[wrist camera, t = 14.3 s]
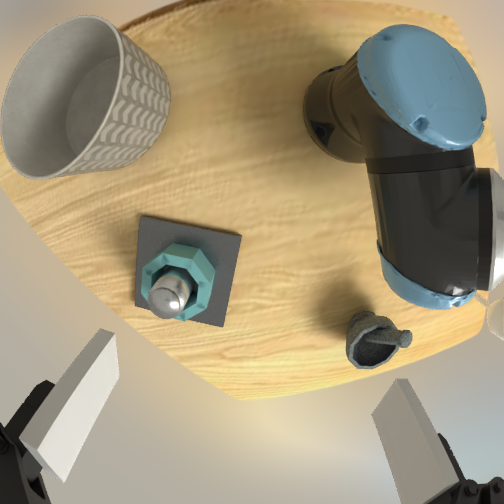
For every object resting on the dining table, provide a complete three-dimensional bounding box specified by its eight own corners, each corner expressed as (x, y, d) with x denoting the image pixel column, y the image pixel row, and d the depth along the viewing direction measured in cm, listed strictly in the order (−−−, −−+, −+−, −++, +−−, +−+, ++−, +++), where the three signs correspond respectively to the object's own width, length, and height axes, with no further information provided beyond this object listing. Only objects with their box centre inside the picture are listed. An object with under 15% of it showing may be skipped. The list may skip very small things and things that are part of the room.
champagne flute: (472, 294, 44) (540, 354, 21) (450, 304, 45) (519, 372, 22) (474, 266, 42) (552, 321, 20) (452, 276, 43) (531, 339, 20)
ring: (155, 238, 41) (143, 248, 36) (218, 252, 41) (213, 263, 37) (151, 295, 44) (140, 310, 39) (208, 309, 44) (203, 325, 40)
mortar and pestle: (364, 352, 48) (384, 394, 37) (328, 337, 47) (344, 382, 36) (399, 307, 45) (430, 344, 34) (365, 287, 44) (393, 325, 32)
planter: (198, 125, 36) (154, 98, 19) (102, 192, 40) (27, 214, 22) (147, 39, 31) (94, -11, 14) (63, 107, 35) (-10, 96, 17)
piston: (142, 215, 41) (109, 232, 30) (241, 235, 41) (236, 260, 31) (136, 303, 46) (111, 336, 35) (223, 324, 46) (215, 364, 36)
